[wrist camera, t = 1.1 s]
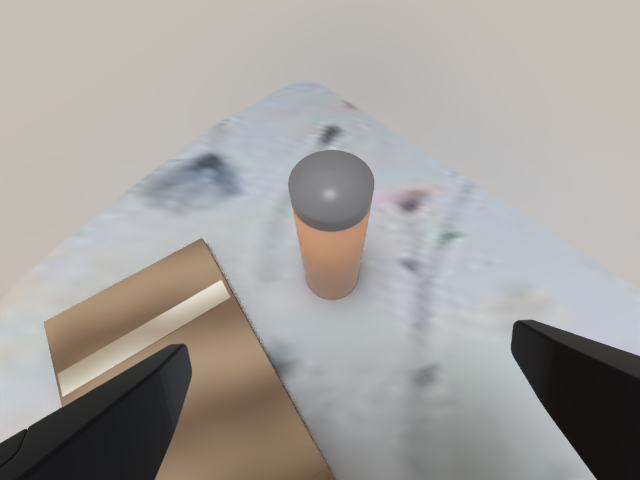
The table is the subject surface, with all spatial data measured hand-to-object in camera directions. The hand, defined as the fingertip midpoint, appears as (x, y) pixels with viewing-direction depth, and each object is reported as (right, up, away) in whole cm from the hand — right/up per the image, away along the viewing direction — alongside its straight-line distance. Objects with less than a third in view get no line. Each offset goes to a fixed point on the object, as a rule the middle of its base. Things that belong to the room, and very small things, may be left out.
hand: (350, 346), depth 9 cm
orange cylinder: (0, 0, +16) cm, 16 cm away
